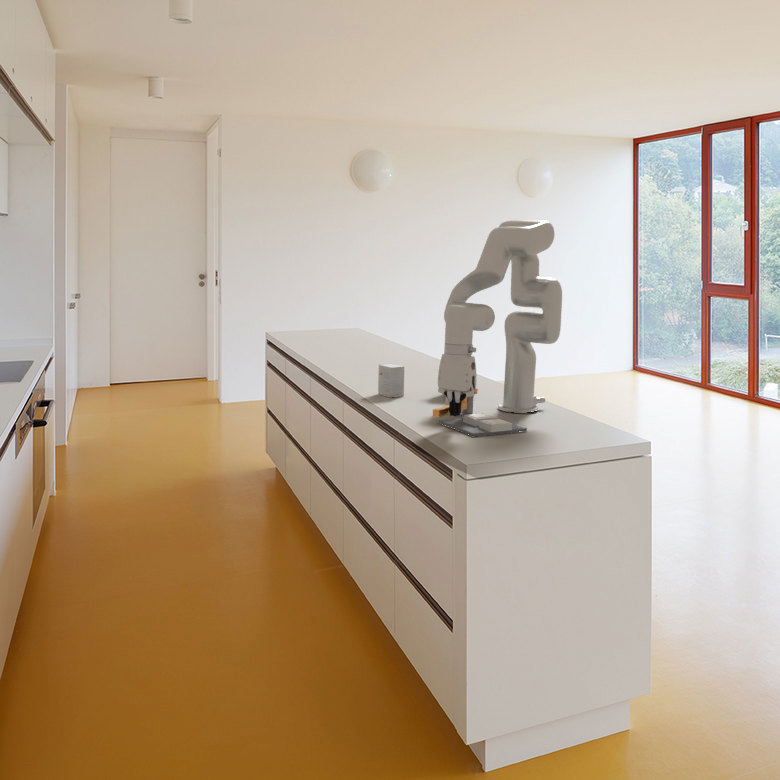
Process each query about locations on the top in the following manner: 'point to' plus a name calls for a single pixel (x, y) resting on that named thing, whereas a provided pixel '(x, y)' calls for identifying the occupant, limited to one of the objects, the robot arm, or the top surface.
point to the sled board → (476, 428)
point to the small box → (391, 380)
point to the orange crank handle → (445, 410)
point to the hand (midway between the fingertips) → (454, 415)
